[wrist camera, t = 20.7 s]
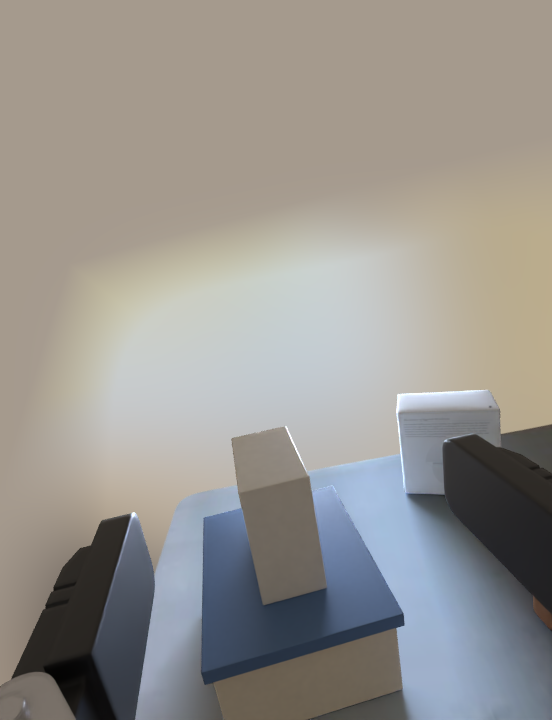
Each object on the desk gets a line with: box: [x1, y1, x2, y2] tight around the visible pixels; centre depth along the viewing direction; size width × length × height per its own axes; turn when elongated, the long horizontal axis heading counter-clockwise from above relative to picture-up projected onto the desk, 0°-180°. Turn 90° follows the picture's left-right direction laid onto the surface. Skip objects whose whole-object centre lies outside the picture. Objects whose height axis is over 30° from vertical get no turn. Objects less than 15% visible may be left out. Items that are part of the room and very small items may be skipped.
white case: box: [232, 426, 327, 605], centre depth 30 cm, size 5×8×9 cm, turn 9°
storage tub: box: [201, 486, 404, 720], centre depth 32 cm, size 13×15×7 cm
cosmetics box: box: [397, 390, 501, 495], centre depth 47 cm, size 10×6×10 cm, turn 72°
